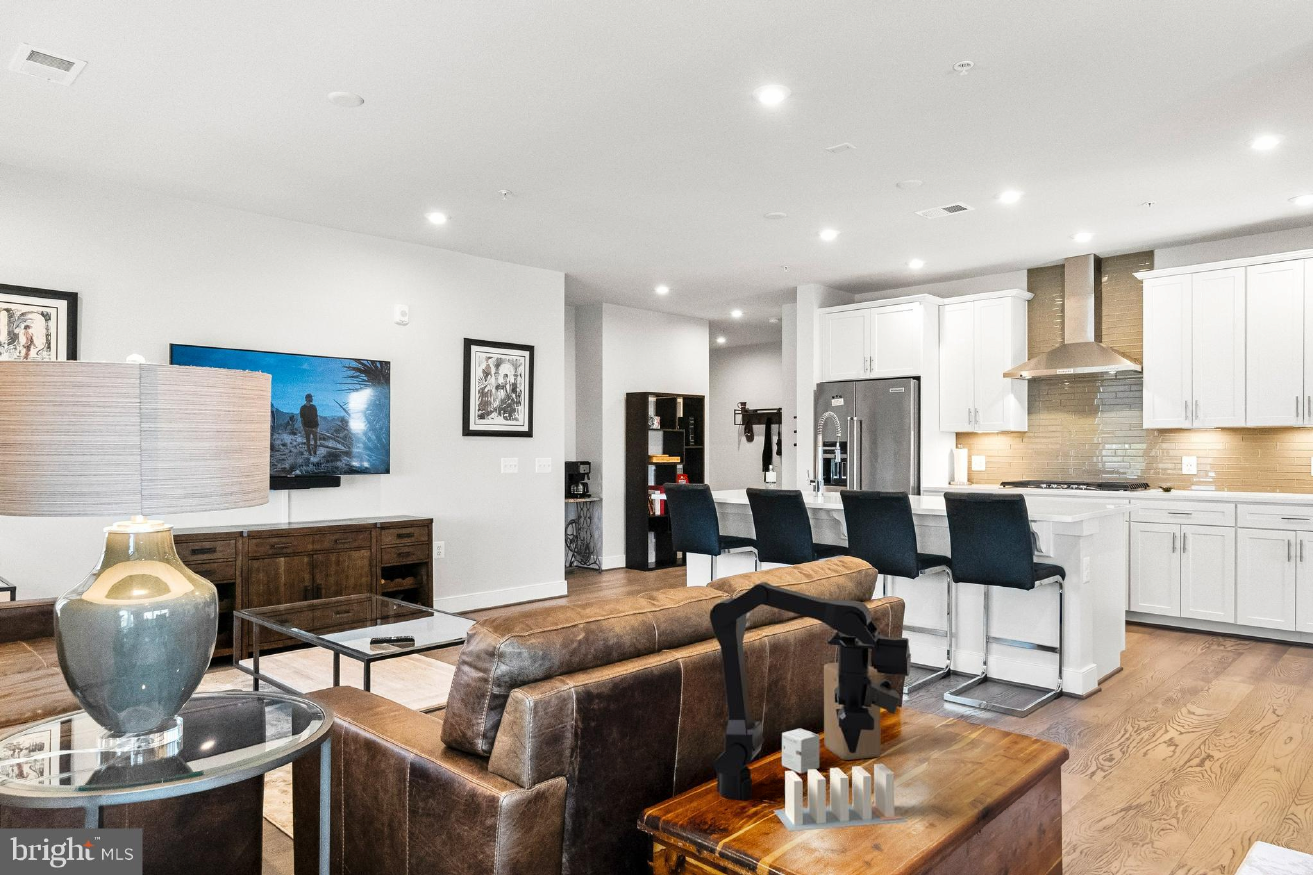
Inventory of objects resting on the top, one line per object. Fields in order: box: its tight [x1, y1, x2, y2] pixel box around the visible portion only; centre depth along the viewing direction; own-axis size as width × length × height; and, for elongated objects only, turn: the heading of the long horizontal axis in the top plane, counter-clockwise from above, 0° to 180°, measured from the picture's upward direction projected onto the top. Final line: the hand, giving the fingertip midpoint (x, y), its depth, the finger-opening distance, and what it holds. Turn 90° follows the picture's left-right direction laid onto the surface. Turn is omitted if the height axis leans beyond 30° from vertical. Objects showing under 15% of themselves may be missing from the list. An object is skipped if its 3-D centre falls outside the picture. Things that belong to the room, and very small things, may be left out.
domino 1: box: [784, 770, 804, 825], centre depth 153 cm, size 2×5×8 cm, turn 10°
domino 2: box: [807, 769, 827, 824], centre depth 153 cm, size 2×5×8 cm, turn 10°
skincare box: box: [781, 727, 821, 774], centre depth 182 cm, size 6×6×7 cm
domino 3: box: [829, 767, 850, 822], centre depth 154 cm, size 2×5×8 cm, turn 10°
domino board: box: [773, 802, 908, 832], centre depth 154 cm, size 23×9×1 cm, turn 100°
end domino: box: [873, 763, 895, 817], centre depth 156 cm, size 2×5×8 cm, turn 10°
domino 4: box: [851, 765, 872, 820], centre depth 155 cm, size 2×5×8 cm, turn 10°
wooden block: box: [823, 662, 882, 761], centre depth 191 cm, size 10×10×20 cm
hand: (852, 752), depth 155 cm, fingers closed
